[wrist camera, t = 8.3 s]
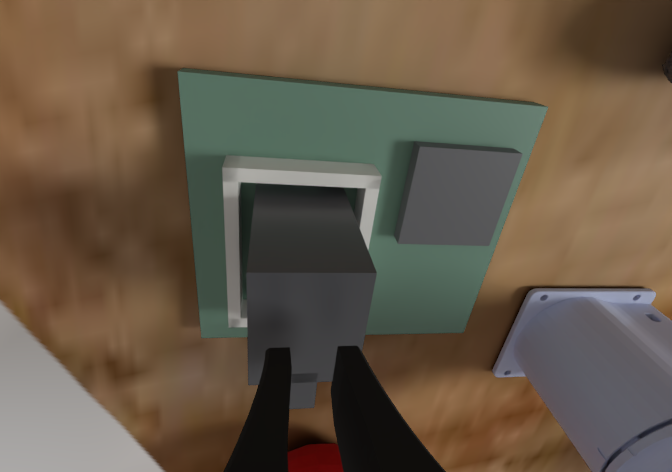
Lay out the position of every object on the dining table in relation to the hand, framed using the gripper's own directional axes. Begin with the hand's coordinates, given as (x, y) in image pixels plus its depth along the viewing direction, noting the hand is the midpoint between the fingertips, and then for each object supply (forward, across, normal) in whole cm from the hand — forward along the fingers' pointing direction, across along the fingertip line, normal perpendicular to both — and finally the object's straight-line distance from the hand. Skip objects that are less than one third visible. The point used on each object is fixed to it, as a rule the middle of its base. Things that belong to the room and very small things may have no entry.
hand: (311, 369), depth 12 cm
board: (+9, -3, 0) cm, 10 cm away
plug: (+8, 0, 0) cm, 8 cm away
